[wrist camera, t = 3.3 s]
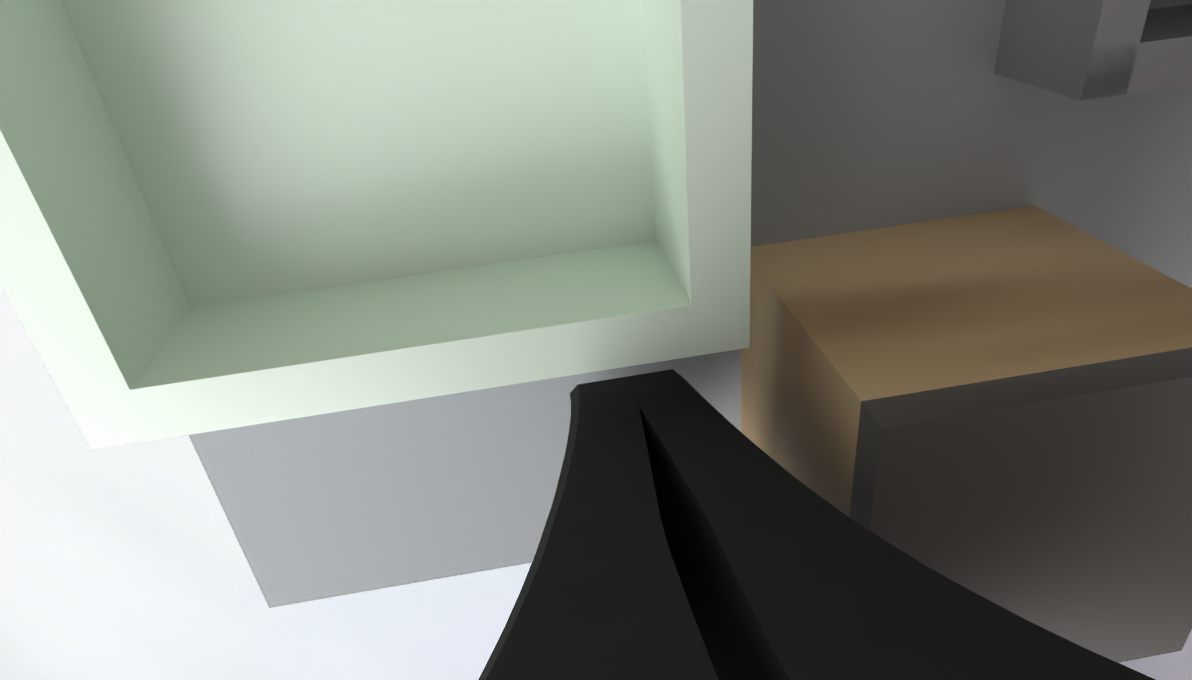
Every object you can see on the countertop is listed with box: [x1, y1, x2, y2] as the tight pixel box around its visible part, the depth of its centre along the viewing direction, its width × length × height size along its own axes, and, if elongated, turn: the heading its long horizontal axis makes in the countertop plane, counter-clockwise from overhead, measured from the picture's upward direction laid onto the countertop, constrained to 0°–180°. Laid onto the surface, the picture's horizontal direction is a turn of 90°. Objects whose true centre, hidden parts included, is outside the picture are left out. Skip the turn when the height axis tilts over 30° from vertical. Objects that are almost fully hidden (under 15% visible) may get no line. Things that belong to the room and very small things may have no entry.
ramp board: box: [189, 0, 1192, 608], centre depth 9 cm, size 12×24×3 cm, turn 95°
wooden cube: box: [741, 206, 1192, 663], centre depth 9 cm, size 4×4×4 cm
